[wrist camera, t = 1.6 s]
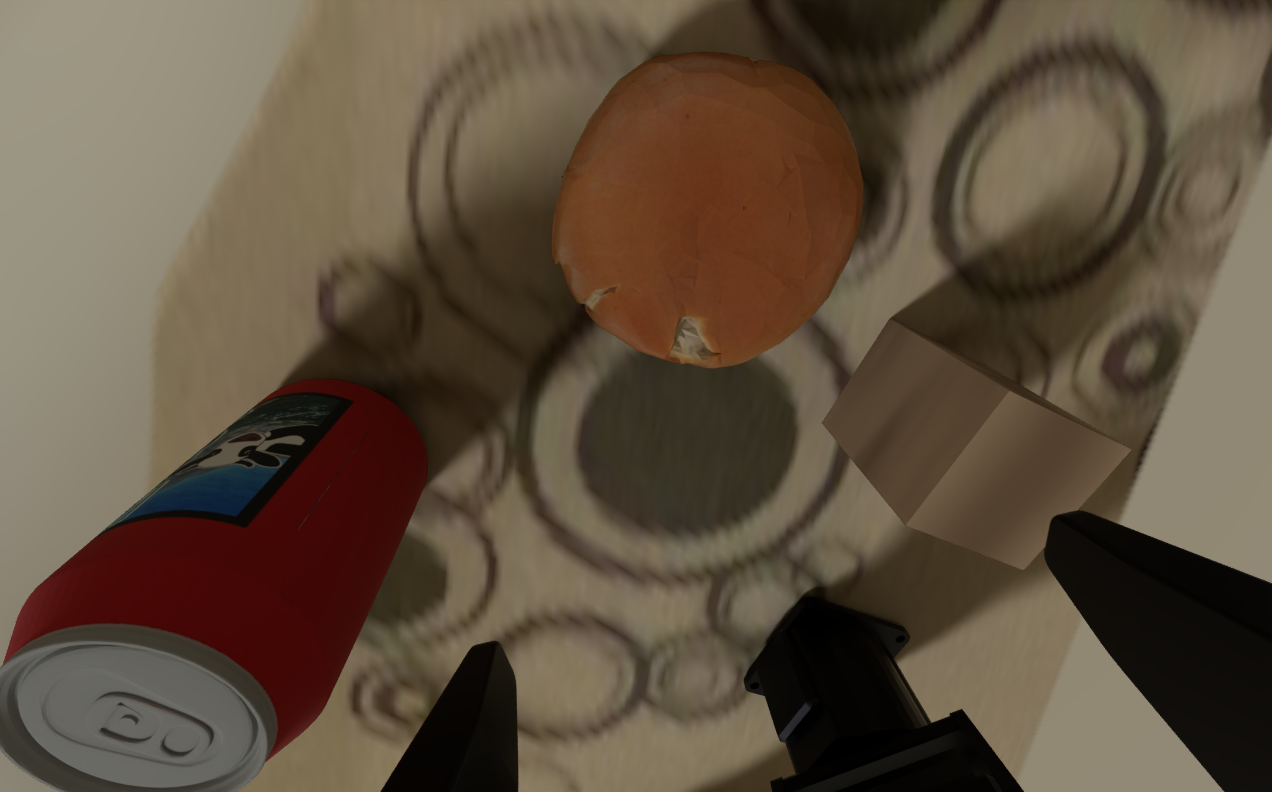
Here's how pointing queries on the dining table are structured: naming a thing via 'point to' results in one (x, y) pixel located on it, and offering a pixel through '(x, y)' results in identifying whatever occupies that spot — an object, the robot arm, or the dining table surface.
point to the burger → (708, 207)
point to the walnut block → (966, 447)
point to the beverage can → (215, 602)
